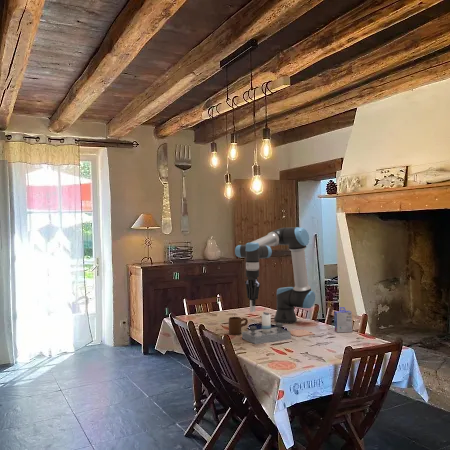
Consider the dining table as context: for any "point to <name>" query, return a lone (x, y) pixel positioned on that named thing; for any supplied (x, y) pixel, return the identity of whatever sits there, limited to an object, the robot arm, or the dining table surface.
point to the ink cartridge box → (343, 320)
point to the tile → (300, 333)
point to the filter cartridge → (266, 323)
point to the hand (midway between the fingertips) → (252, 311)
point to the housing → (266, 336)
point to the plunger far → (279, 326)
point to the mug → (236, 325)
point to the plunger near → (252, 329)
